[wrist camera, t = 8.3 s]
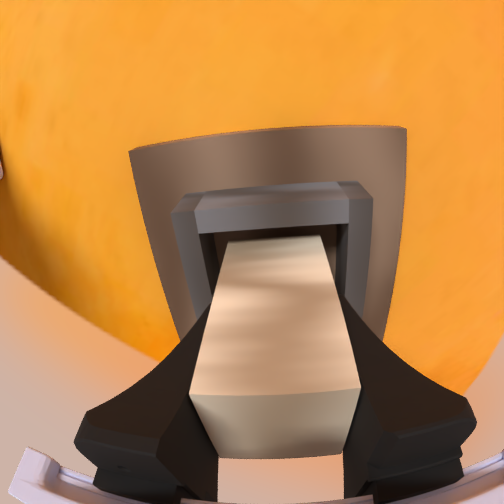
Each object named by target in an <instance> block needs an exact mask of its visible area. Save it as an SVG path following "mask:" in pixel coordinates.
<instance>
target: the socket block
mask: <svg viewBox="0 0 504 504" xmlns="http://www.w3.org/2000/svg"><path fill="white" fill-rule="evenodd" d="M406 148H407V129H406V128H403V127H400V126H380V125H327V126H301V127H284V128H270V129H258V130H248V131H238V132H229V133H221V134H213V135H206V136H199V137H192V138H186V139H180V140H174V141H168V142H162V143H157V144H152V145H147V146H142V147H137V148H135V149H132V150H130V151H128V152H129V157H130V162H131V166H132V171H133V176H134V180H135V185H136V189H137V194H138V198H139V202H140V206H141V211H142V215H143V219H144V223H145V226H146V230H147V234H148V238H149V242H150V245H151V249H152V253H153V256H154V260H155V263H156V267H157V270H158V273H159V277H160V280H161V283H162V287H163V290H164V293H165V296H166V299H167V302H168V306H169V309H170V312H171V315H172V318H173V321H174V324H175V327H176V330H177V332H178V335H179V338H180V341H181V340H182V339H183V338H184V337H185V335H186V334H187V333H188V332H189V330H190V329H191V328H192V327H193V325H194V324H195V323H196V321H197V320H198V319H199V317H200V316H201V315H202V313H203V312H204V310H205V309H206V308H207V306H208V305H209V304H210V303H211V302H212V300H213V296H214V293H215V289H216V285H217V281H218V278H219V274H220V270H221V266H222V263H223V259H224V255H225V252H226V248H227V244H228V241H233V240H247V239H262V238H276V237H291V236H306V235H320V237H321V240H322V243H323V247H324V250H325V253H326V256H327V260H328V263H329V266H330V270H331V273H332V276H333V280H334V283H335V287H336V290H337V294H338V295H341V294H342V295H344V296H345V298H346V299H347V300H348V302H349V303H350V305H351V306H352V307H353V309H354V310H355V311H356V312H357V314H358V315H359V316H360V317H361V319H362V320H363V321H364V322H365V323H366V324H367V326H368V327H369V328H370V329H371V330H372V331H373V332H374V333H375V335H376V336H377V337H378V338H379V339H380V340H381V341H383V336H384V332H385V327H386V323H387V318H388V313H389V308H390V303H391V298H392V292H393V286H394V281H395V274H396V268H397V261H398V254H399V246H400V238H401V229H402V219H403V208H404V195H405V178H406Z"/></svg>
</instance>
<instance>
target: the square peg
mask: <svg viewBox="0 0 504 504" xmlns="http://www.w3.org/2000/svg"><path fill="white" fill-rule="evenodd" d="M360 390H361V385H360V380H359V376H358V372H357V367H356V363H355V359H354V355H353V351H352V347H351V343H350V339H349V335H348V331H347V327H346V323H345V319H344V316H343V312H342V308H341V305H340V301H339V297H338V294H337V290H336V287H335V283H334V280H333V276H332V273H331V270H330V266H329V263H328V260H327V256H326V253H325V250H324V247H323V243H322V240H321V237H320V235H306V236H291V237H276V238H262V239H247V240H233V241H228V244H227V248H226V252H225V255H224V259H223V263H222V266H221V270H220V274H219V278H218V281H217V285H216V289H215V293H214V296H213V300H212V304H211V308H210V312H209V315H208V319H207V323H206V327H205V331H204V335H203V339H202V343H201V347H200V351H199V355H198V359H197V363H196V367H195V371H194V375H193V379H192V383H191V387H190V391H189V396H190V398H191V400H192V402H193V404H194V407H195V409H196V411H197V413H198V415H199V417H200V419H201V421H202V423H203V425H204V428H205V430H206V432H207V434H208V436H209V438H210V440H211V442H212V443H213V445H214V447H215V449H216V451H217V453H218V455H219V457H220V458H233V459H284V458H303V457H317V456H327V455H336V454H341V453H342V450H343V447H344V444H345V441H346V438H347V435H348V432H349V428H350V425H351V422H352V419H353V415H354V412H355V408H356V405H357V401H358V397H359V394H360Z"/></svg>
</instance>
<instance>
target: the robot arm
mask: <svg viewBox="0 0 504 504" xmlns="http://www.w3.org/2000/svg"><path fill="white" fill-rule="evenodd" d="M2 177H3V170H2V165H1V161H0V179H2ZM338 297H339V301H340V305H341V308H342V312H343V316H344V319H345V323H346V327H347V331H348V335H349V339H350V343H351V347H352V351H353V355H354V359H355V363H356V367H357V372H358V376H359V380H360V385H361V390H360V394H359V397H358V401H357V405H356V408H355V412H354V415H353V419H352V422H351V425H350V428H349V432H348V435H347V438H346V441H345V444H344V447H343V468H344V499H342V500H333V501H324V502H313V503H299V504H504V449H503V450H502V452H500V453H498V454H496V455H494V456H492V457H490V458H487V459H485V460H483V461H481V462H478V463H476V464H473V465H471V466H468V467H466V468H463V469H462V466H461V462H460V459H459V458H460V457H462V454H463V453H462V450H461V447H460V446H461V445H462V444H463V443H464V441H465V440H466V439H467V438H468V437H469V436H470V434H472V432H473V430H474V429H475V427H476V424H477V421H476V418H475V416H474V413H473V410H472V408H471V406H470V404H469V402H468V400H467V399H466V398H465V397H463V396H461V395H459V394H457V393H455V392H453V391H451V390H448V389H446V388H444V387H442V386H441V385H439V384H437V383H435V382H434V381H432V380H430V379H429V378H427V377H425V376H424V375H422V374H421V373H420V372H418V371H417V370H415V369H414V368H412V367H411V366H410V365H408V364H407V363H406V362H404V361H403V360H402V359H401V358H399V357H398V356H397V355H396V354H395V353H394V352H393V351H391V350H390V349H389V348H388V347H387V346H386V345H385V344H384V343H383V342H382V341H381V340H380V339H379V338H378V337H377V336H376V335H375V333H374V332H373V331H372V330H371V329H370V328H369V327H368V326H367V324H366V323H365V322H364V321H363V320H362V319H361V317H360V316H359V315H358V314H357V312H356V311H355V310H354V309H353V307H352V306H351V305H350V303H349V302H348V300H347V299H346V298H345V296H344V295H342V294H341V295H338ZM211 304H212V302H211V303H210V304H209V305H208V306H207V308H206V309H205V310H204V312H203V313H202V315H201V316H200V317H199V319H198V320H197V321H196V323H195V324H194V325H193V327H192V328H191V329H190V330H189V332H188V333H187V334H186V335H185V337H184V338H183V339H182V340H181V341H180V342H179V344H178V345H177V346H176V347H175V348H174V349H173V350H172V351H171V353H170V354H169V355H168V356H167V357H166V358H165V359H164V360H163V361H162V362H161V363H160V364H159V365H157V366H156V367H155V368H154V369H153V370H152V371H151V372H150V373H148V374H147V375H146V376H144V377H143V378H142V379H141V380H139V381H138V382H137V383H135V384H134V385H133V386H131V387H130V388H129V389H127V390H125V391H124V392H122V393H121V394H119V395H117V396H116V397H114V398H112V399H111V400H109V401H107V402H105V403H103V404H101V405H99V406H97V407H95V408H93V409H91V410H89V411H87V412H86V414H85V416H84V418H83V420H82V423H81V425H80V427H79V430H78V432H77V434H76V437H75V439H74V444H75V446H76V448H77V449H78V450H79V451H80V453H82V454H83V455H84V456H85V457H86V458H87V459H88V460H90V461H91V462H92V463H93V464H94V465H95V466H97V467H98V469H97V471H96V475H95V477H91V476H88V475H85V474H82V473H78V472H76V471H73V470H71V469H68V468H65V467H63V466H60V464H59V463H58V462H56V461H55V460H54V459H52V458H51V457H49V456H48V455H46V454H44V453H41V452H39V451H37V450H35V449H32V448H30V447H26V450H25V452H24V454H23V456H22V459H21V461H20V463H19V466H18V468H17V470H16V473H15V475H14V478H13V480H12V482H11V485H10V487H9V490H8V492H9V494H10V495H12V496H14V497H15V498H17V499H18V500H20V501H22V502H23V503H25V504H234V503H220V502H217V492H218V458H219V455H218V453H217V451H216V449H215V447H214V445H213V443H212V442H211V440H210V438H209V436H208V434H207V432H206V430H205V428H204V425H203V423H202V421H201V419H200V417H199V415H198V413H197V411H196V409H195V407H194V404H193V402H192V400H191V398H190V396H189V391H190V387H191V383H192V379H193V375H194V371H195V367H196V363H197V359H198V355H199V351H200V347H201V343H202V339H203V335H204V331H205V327H206V323H207V319H208V315H209V312H210V308H211Z"/></svg>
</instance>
